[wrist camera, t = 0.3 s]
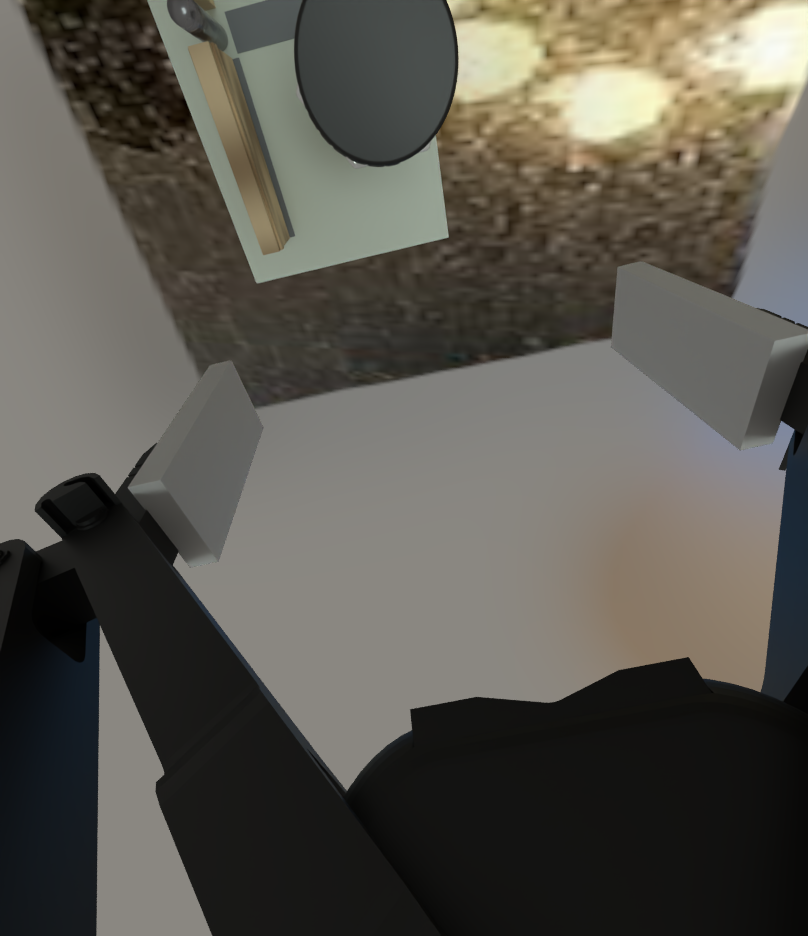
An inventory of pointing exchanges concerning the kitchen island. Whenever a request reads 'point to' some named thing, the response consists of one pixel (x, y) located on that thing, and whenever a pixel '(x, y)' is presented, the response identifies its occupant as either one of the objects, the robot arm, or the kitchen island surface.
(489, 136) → the kitchen island surface
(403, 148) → the jar
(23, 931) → the robot arm
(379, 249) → the board
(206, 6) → the fence panel
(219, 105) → the fixed panel
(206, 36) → the hinge post
